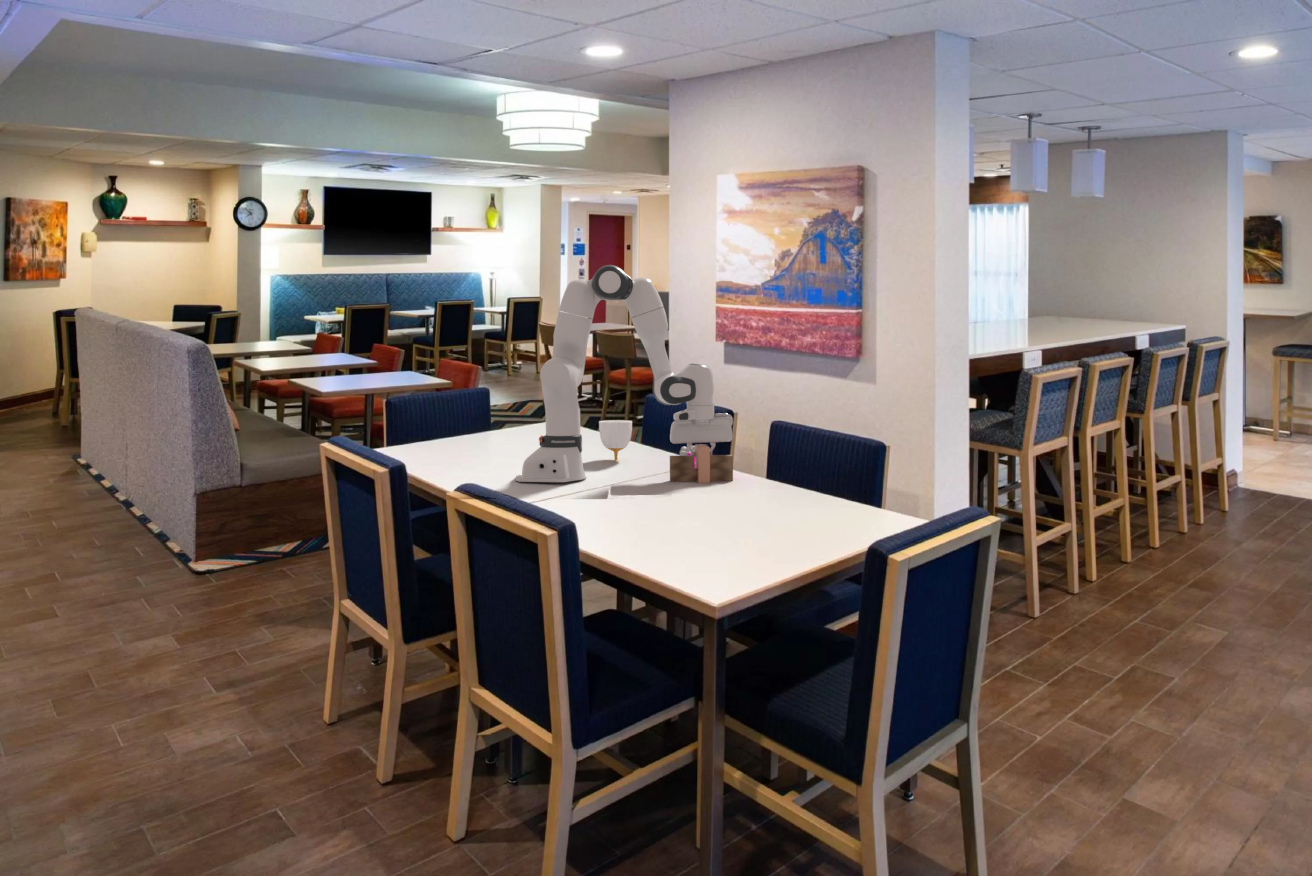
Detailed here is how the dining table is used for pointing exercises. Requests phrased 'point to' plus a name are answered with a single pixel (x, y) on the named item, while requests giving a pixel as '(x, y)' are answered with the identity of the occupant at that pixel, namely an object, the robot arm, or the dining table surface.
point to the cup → (615, 434)
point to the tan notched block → (703, 463)
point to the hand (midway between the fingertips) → (701, 456)
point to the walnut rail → (685, 469)
